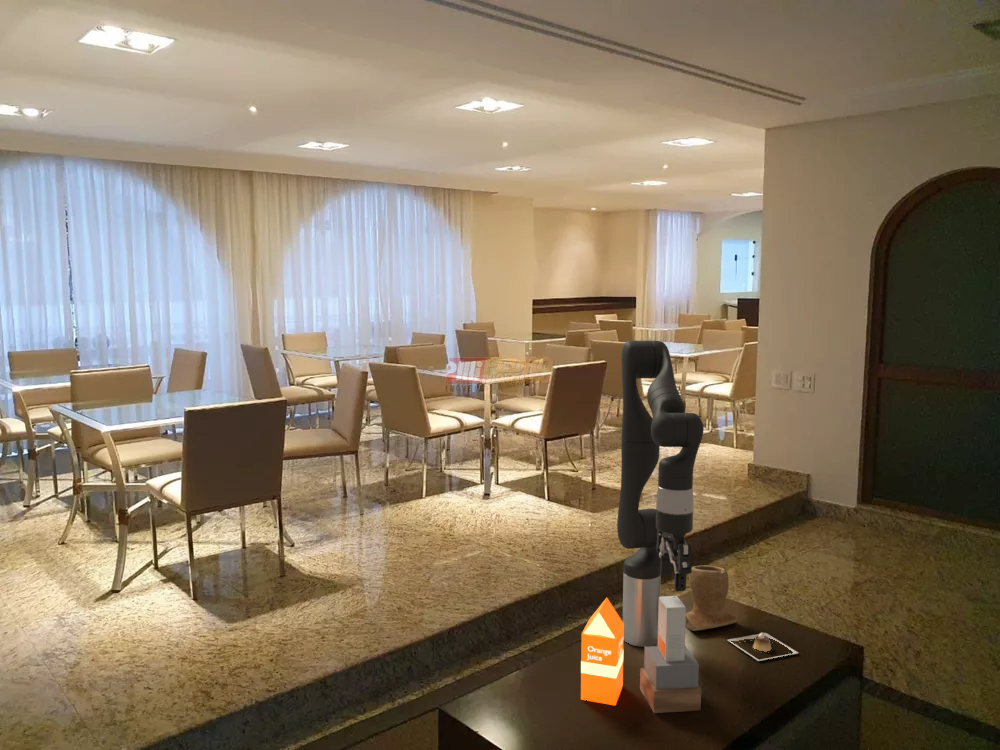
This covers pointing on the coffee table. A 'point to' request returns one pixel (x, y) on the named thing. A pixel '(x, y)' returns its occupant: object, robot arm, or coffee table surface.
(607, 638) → the orange juice
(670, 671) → the gray top block
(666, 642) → the skincare box
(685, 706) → the walnut base block
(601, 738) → the coffee table surface
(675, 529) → the robot arm
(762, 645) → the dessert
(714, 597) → the stone cup
